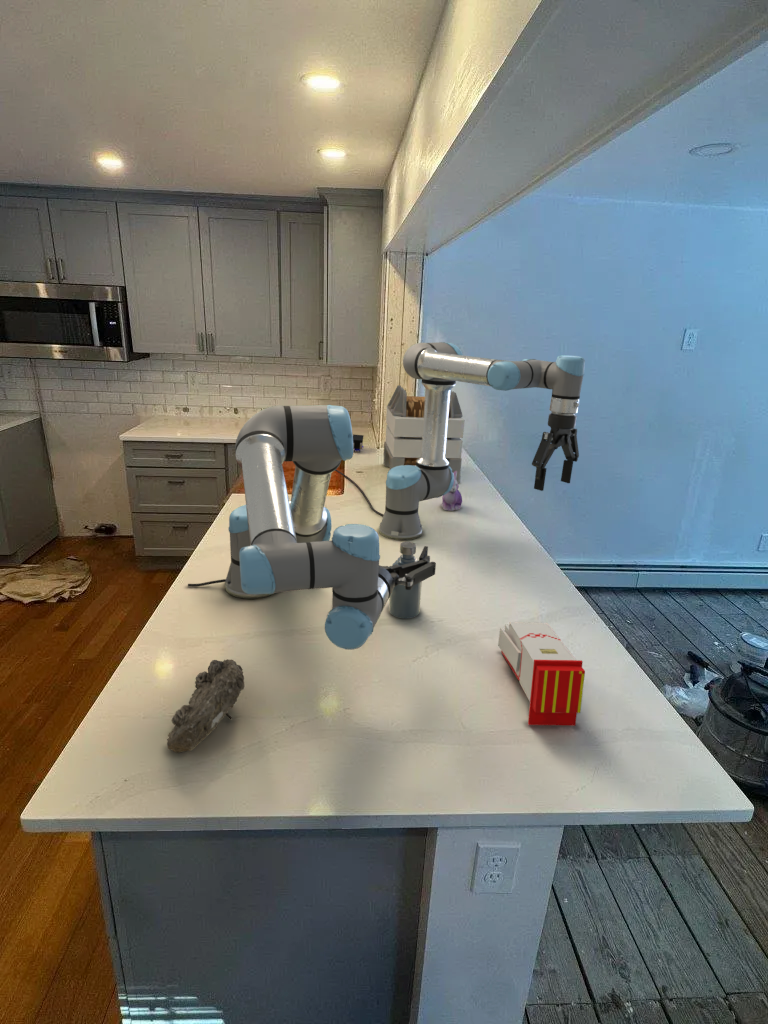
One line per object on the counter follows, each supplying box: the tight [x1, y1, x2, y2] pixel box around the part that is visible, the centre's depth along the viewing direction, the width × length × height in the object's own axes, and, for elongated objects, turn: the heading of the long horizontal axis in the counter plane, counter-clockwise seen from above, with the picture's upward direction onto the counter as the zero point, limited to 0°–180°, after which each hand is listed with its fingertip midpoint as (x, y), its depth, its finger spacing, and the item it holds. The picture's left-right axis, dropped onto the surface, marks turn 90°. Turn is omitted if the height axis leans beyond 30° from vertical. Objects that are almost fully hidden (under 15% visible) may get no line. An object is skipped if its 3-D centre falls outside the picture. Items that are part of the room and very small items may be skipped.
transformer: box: [383, 384, 465, 484], centre depth 268 cm, size 34×33×41 cm
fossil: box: [166, 658, 245, 754], centre depth 106 cm, size 22×10×15 cm
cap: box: [399, 540, 417, 556], centre depth 143 cm, size 4×4×2 cm
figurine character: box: [352, 433, 365, 453], centre depth 312 cm, size 7×8×15 cm
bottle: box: [388, 553, 423, 619], centre depth 146 cm, size 8×8×18 cm
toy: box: [497, 621, 586, 727], centre depth 121 cm, size 12×13×30 cm
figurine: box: [441, 471, 463, 512], centre depth 226 cm, size 9×10×15 cm
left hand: (395, 547), depth 124 cm, fingers open, 13 cm apart
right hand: (552, 485), depth 166 cm, fingers open, 13 cm apart
